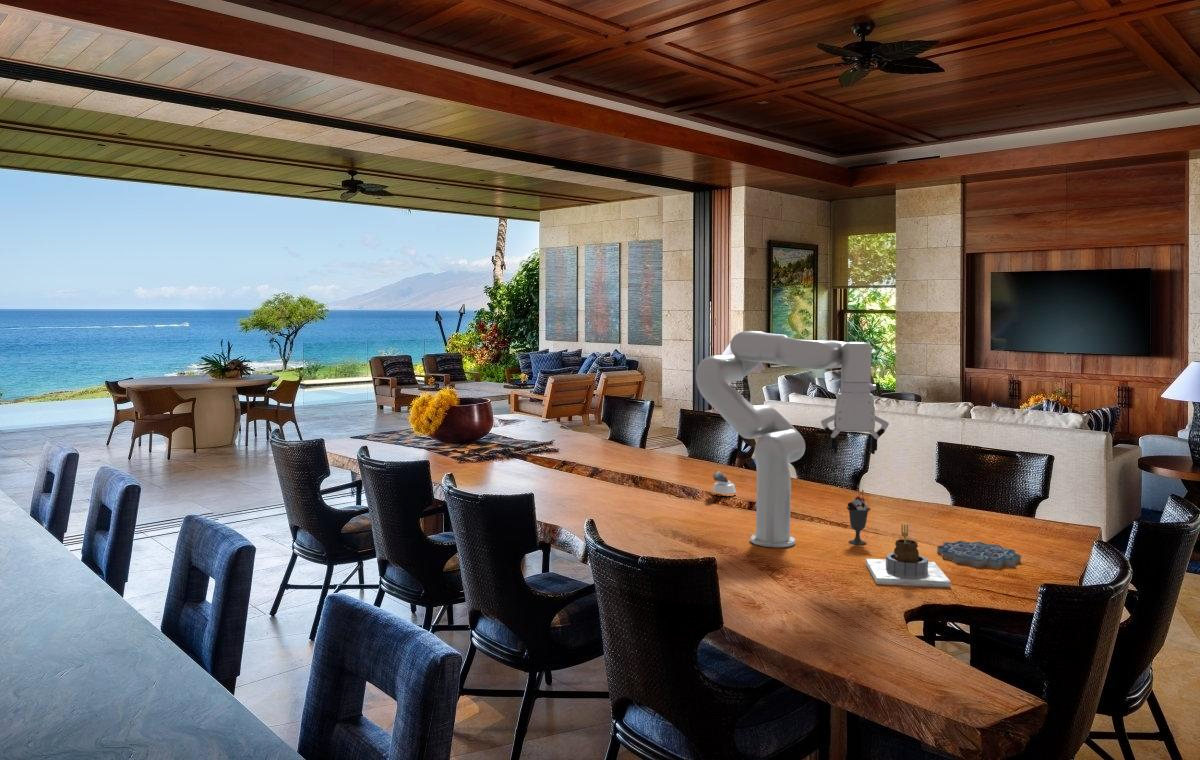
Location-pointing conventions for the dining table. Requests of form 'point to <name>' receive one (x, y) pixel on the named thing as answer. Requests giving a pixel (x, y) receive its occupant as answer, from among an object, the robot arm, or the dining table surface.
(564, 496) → the dining table surface
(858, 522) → the sundae
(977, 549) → the decorative tile
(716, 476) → the inkwell
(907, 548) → the utensil holder
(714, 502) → the dining table surface
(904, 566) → the collar stand
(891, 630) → the dining table surface
